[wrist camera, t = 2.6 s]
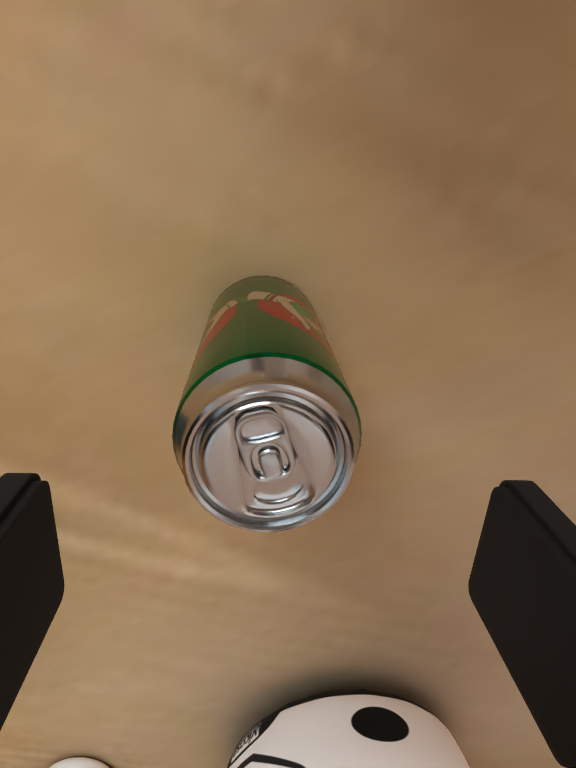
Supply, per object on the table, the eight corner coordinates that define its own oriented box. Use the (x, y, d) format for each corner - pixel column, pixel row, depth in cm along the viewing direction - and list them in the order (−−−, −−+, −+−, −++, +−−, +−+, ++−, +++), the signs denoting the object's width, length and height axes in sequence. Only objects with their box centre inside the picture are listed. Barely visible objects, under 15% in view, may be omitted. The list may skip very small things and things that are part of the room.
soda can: (226, 386, 24) (200, 562, 13) (195, 288, 22) (134, 397, 11) (324, 362, 24) (384, 520, 13) (303, 261, 22) (351, 345, 11)
